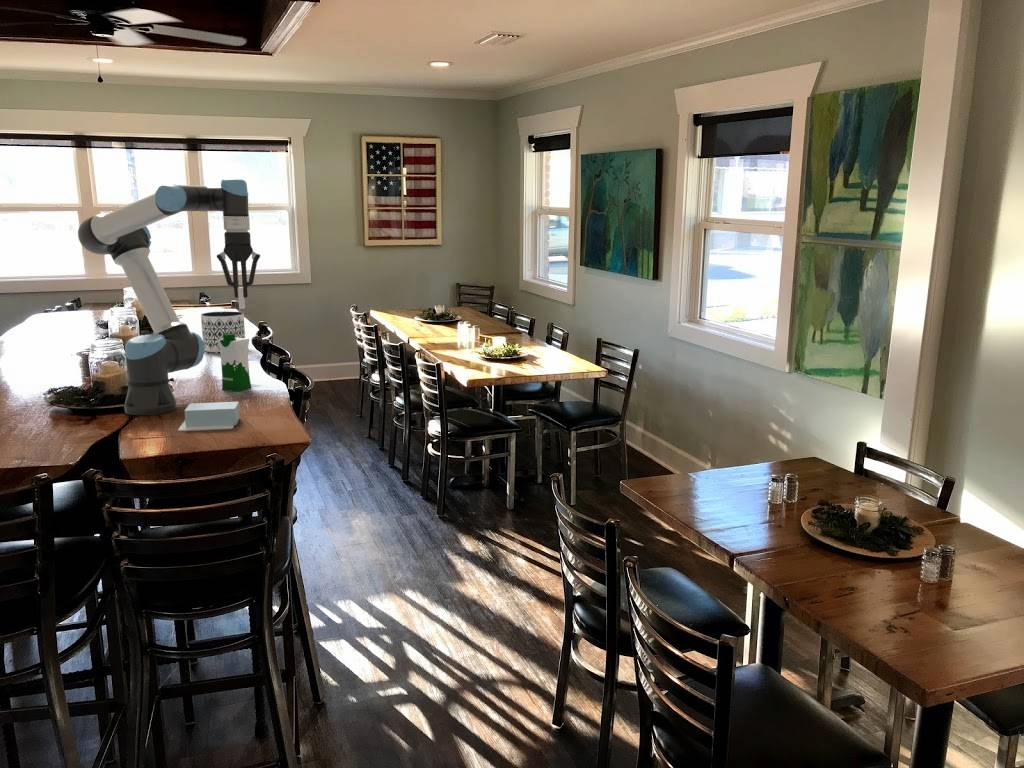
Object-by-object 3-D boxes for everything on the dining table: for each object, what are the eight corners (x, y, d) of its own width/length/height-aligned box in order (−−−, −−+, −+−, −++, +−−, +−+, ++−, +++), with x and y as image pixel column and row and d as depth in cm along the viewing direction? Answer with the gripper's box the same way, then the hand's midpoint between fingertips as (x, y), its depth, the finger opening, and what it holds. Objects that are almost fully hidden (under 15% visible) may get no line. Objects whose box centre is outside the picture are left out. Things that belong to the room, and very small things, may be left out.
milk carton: (218, 390, 284) (214, 334, 280) (236, 385, 292) (233, 330, 288) (237, 392, 280) (233, 336, 276) (255, 387, 288) (252, 332, 284)
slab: (236, 425, 237) (185, 427, 234) (239, 417, 246) (191, 419, 243) (235, 408, 236) (184, 410, 233) (238, 401, 245) (189, 403, 242)
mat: (177, 431, 231) (177, 429, 231) (186, 419, 245) (186, 417, 245) (232, 428, 235) (232, 427, 234) (238, 416, 248) (238, 415, 248)
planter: (237, 353, 356) (235, 316, 353) (197, 353, 356) (194, 316, 353) (251, 346, 374) (249, 311, 370) (212, 346, 374) (209, 311, 371)
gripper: (212, 231, 241) (218, 309, 246) (258, 231, 244) (262, 309, 249) (216, 230, 248) (221, 307, 253) (260, 230, 251) (264, 306, 256)
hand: (242, 308), depth 251 cm, fingers closed
